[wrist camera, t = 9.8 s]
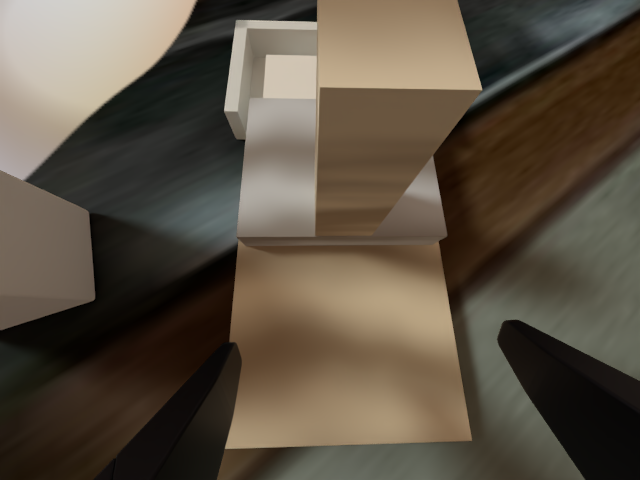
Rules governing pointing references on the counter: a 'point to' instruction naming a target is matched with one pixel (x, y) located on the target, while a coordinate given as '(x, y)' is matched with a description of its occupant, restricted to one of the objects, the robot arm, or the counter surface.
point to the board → (344, 347)
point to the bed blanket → (360, 130)
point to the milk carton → (41, 253)
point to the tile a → (290, 77)
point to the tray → (260, 61)
